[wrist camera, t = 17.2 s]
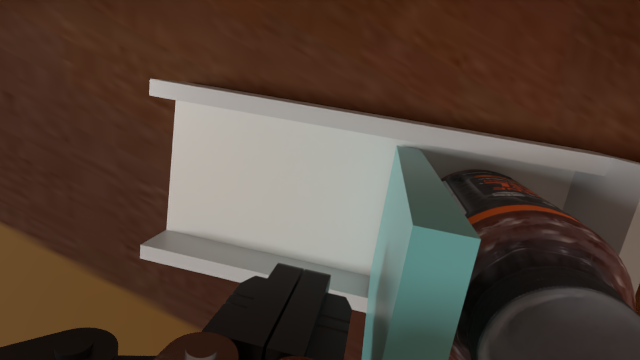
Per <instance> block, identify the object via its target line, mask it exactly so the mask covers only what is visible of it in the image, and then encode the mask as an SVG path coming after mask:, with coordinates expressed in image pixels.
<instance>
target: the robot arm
mask: <svg viewBox="0 0 640 360" xmlns="http://www.w3.org/2000/svg"><path fill="white" fill-rule="evenodd" d="M330 280H331V275H330V274H326V273H322V272H317V271H313V270H309V269H305V270H304V268H300V267H295V266H291V265H287V264H283V263H277V265H276V266H275V268H274V269H273V271H272V272H271V274H270V275H269V277H268V278H264V277H260V276H256V275H255V276H253V277H251V278H249V279H247V280H245V281H243V282H241V283H240V285H239V286H238V287H237V288H236V290H235V291H234V292H233V294H232V295H231V296H230V297H229V298H228V299H227V301H226V303H225V304H223V306H222V307H221V308H220V309H219V311H218V312H217V313H216V314H215V316H214V317H213V318H212V319H211V320H210V322H209V323H208V324H207V325H206V327H205V328H204V329H203V330H202V332H195V333H190V334H187V335H183V336H181V337H179V338H177V339H175V340H174V341H172V342H171V343H170V344H169V345H168V346H166V347H165V348H164V349H163V350H162V351H161V352H160V353H159V354H158V355H157V356H118V341H117V339H116V338H115V336H114V335H113V334H111V333H110V332H108V331H105V330H102V329H97V328H76V329H71V330H66V331H62V332H59V333H54V334H50V335H46V336H43V337H39V338H35V339H31V340H27V341H24V342H19V343H15V344H11V345H8V346H4V347H0V360H343V358H344V353H345V347H346V341H347V335H348V329H349V323H350V318H351V312H352V308H351V306H350V304H349V302H348V300H347V298H346V297H344V296H340V295H335V294H331V293H328V291H329V286H330Z"/></svg>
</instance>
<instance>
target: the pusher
mask: <svg viewBox="0 0 640 360" xmlns="http://www.w3.org/2000/svg"><path fill="white" fill-rule="evenodd" d="M480 242H481V239H480V237H479V236H478V234H477V233H476V231H475V230H474V228H473V227H472V225H471V224H470V222H469V221H468V219H467V218H466V216H465V215H464V213H463V212H462V210H461V209H460V207H459V206H458V204H457V203H456V202H455V200H454V199H453V197H452V196H451V194H450V193H449V191H448V190H447V188H446V187H445V185H444V184H443V182H442V181H441V179H440V178H439V176H438V175H437V173H436V172H435V170H434V169H433V167H432V166H431V165H430V163H429V162H428V160H427V159H426V157H425V156H424V154H423V153H422V151H421V150H420V149H415V148H409V147H403V146H398V145H397V146H396V151H395V156H394V160H393V165H392V170H391V175H390V180H389V185H388V189H387V194H386V199H385V204H384V209H383V213H382V218H381V223H380V228H379V233H378V238H377V242H376V247H375V252H374V257H373V262H372V266H371V273H370V282H369V292H368V302H367V312H366V322H365V332H364V342H363V352H362V360H448V358H449V355H450V351H451V347H452V344H453V340H454V336H455V333H456V329H457V325H458V322H459V318H460V315H461V311H462V307H463V304H464V300H465V296H466V293H467V289H468V285H469V282H470V278H471V274H472V271H473V267H474V263H475V260H476V256H477V252H478V249H479V245H480Z"/></svg>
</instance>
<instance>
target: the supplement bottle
mask: <svg viewBox="0 0 640 360" xmlns="http://www.w3.org/2000/svg"><path fill="white" fill-rule="evenodd" d="M441 181H442V182H443V184H444V185H445V187H446V188H447V190H448V191H449V193H450V194H451V196H452V197H453V199H454V200H455V202H456V203H457V204H458V206H459V207H460V209H461V210H462V212H463V213H464V215H465V216H466V218H467V219H468V221H469V222H470V224H471V225H472V227H473V228H474V230H475V231H476V233H477V234H478V236H479V237H480V239H481V242H480V245H479V249H478V252H477V256H476V260H475V263H474V267H473V271H472V274H471V278H470V282H469V285H468V289H467V293H466V296H465V300H464V304H463V307H462V311H461V315H460V318H459V322H458V325H457V329H456V333H455V336H454V340H453V344H452V347H451V351H450V355H449V356H450V357H451V358H452V359H453V360H640V316H639V315H638V314H637V313H636V303H635V292H634V288H633V285H632V282H631V278H630V276H629V273H628V272H627V269H626V267H625V265H624V264H623V262H622V260H621V258H620V257H619V256H618V254H617V253H616V252H615V251H614V249H613V248H612V247H611V246H610V245H609V244H608V243H607V242H606V241H605V240H603V239H602V238H601V237H600V236H599V235H598V234H596V233H595V232H594V231H592V230H591V229H590V228H588V227H587V226H585V225H584V224H582V223H581V222H580V221H579V220H578V219H576V218H574V217H572V216H571V215H570V214H568V213H565V212H564V211H562V210H561V209H559V208H558V207H556V206H555V205H553V204H551V203H550V202H548V201H546V200H545V199H543V198H541V197H540V196H538V195H537V194H536V193H534V192H532V191H531V190H529V189H528V188H526V187H525V186H523V185H521V184H520V183H518V182H517V181H515V180H513V179H512V178H511V177H508V176H505V175H503V174H500V173H496V172H493V171H489V170H481V169H469V170H463V171H457V172H454V173H452V174H449V175H447V176H445V177H444V178H442V179H441Z"/></svg>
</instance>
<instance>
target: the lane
mask: <svg viewBox="0 0 640 360" xmlns="http://www.w3.org/2000/svg"><path fill="white" fill-rule="evenodd" d="M149 95H150V96H156V97H162V98H167V99H173V100H176V106H175V119H174V133H173V147H172V161H171V175H170V188H169V202H168V216H167V230H165V231H164V232H162V233H160V234H158V235H157V236H155V237H153V238H152V239H150V240H148V241H146V242H145V243H143V244H141V248H140V258H141V259H145V260H149V261H153V262H157V263H161V264H166V265H170V266H174V267H178V268H182V269H186V270H191V271H195V272H199V273H203V274H207V275H211V276H216V277H220V278H224V279H228V280H232V281H236V282H240V283H241V282H243V281H245V280H247V279H249V278H251V277H253V276H255V275H256V276H260V277H264V278H268V277H269V275H270V274H271V272H272V271H273V269H274V268H275V266H276V265H277V263H283V264H287V265H291V266H295V267H300V268H304V270H305V269H309V270H313V271H317V272H322V273H326V274H330V275H331V280H330V286H329V291H328V293H331V294H335V295H340V296H344V297H346V298H347V300H348V302H349V304H350V306H351V308H352V309H353V310H357V311H361V312H365V313H366V312H367V302H368V292H369V282H370V273H371V266H372V262H373V257H374V252H375V247H376V242H377V238H378V233H379V228H380V223H381V218H382V213H383V209H384V204H385V199H386V194H387V189H388V185H389V180H390V175H391V170H392V165H393V160H394V156H395V151H396V146H397V145H398V146H403V147H409V148H415V149H420V150H421V151H422V153H423V154H424V156H425V157H426V159H427V160H428V162H429V163H430V165H431V166H432V167H433V169H434V170H435V172H436V173H437V175H438V176H439V178H440V179H442V178H444V177H445V176H447V175H449V174H452V173H454V172H457V171H463V170H469V169H481V170H489V171H493V172H496V173H500V174H503V175H505V176H508V177H511V178H512V179H513V180H515V181H517V182H518V183H520V184H521V185H523V186H525V187H526V188H528V189H529V190H531V191H532V192H534V193H536V194H537V195H538V196H540V197H541V198H543V199H545V200H546V201H548V202H550V203H551V204H553V205H555V206H556V207H558V208H559V209H561V210H562V211H564V212H565V213H568V214H570V215H571V216H572V217H574V218H576V219H578V220H579V221H580V222H581V223H582V224H584V225H585V226H587V227H588V228H590V229H591V230H592V231H594V232H595V233H596V234H598V235H599V236H600V237H601V238H602V239H603V240H605V241H606V242H607V243H608V244H609V245H610V246H611V247H612V248H613V249H614V251H615V252H616V253H617V254H618V256H619V257H620V258H621V260H622V262H623V264H624V265H625V267H626V269H627V272H628V273H629V276H630V278H631V282H632V285H633V288H634V292H635V294H636V292H637V289H638V287H639V284H640V163H639V162H635V161H631V160H627V159H622V158H618V157H614V156H610V155H606V154H602V153H598V152H594V151H588V150H582V149H576V148H570V147H565V146H559V145H553V144H547V143H541V142H535V141H529V140H523V139H518V138H512V137H506V136H500V135H494V134H488V133H482V132H476V131H471V130H465V129H459V128H453V127H447V126H441V125H435V124H429V123H424V122H418V121H412V120H406V119H400V118H394V117H388V116H382V115H376V114H371V113H365V112H359V111H353V110H347V109H341V108H335V107H329V106H324V105H318V104H312V103H306V102H300V101H294V100H288V99H282V98H277V97H271V96H265V95H259V94H253V93H247V92H241V91H235V90H230V89H224V88H218V87H212V86H206V85H200V84H194V83H188V82H179V81H169V80H158V79H150V89H149Z"/></svg>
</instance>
